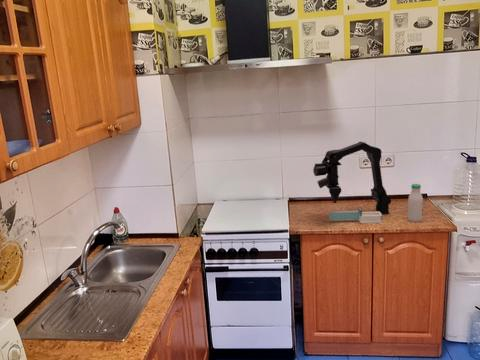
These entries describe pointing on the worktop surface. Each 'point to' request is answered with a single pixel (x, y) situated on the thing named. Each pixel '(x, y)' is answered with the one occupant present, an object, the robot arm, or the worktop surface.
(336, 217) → the teal square rod
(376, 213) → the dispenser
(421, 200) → the milk bottle
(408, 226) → the worktop surface
